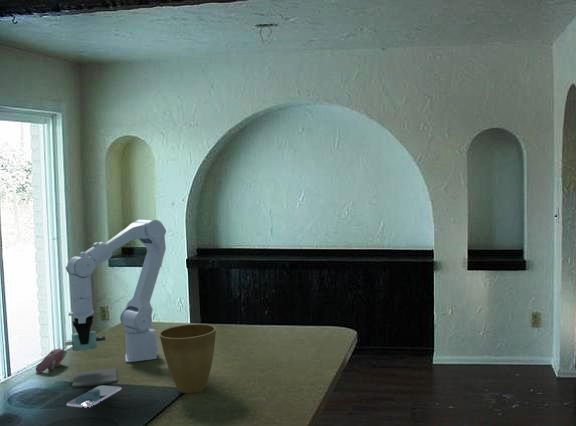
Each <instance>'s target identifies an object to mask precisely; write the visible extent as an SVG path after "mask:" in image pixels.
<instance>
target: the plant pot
mask: <svg viewBox="0 0 576 426" xmlns="http://www.w3.org/2000/svg"><path fill="white" fill-rule="evenodd" d="M216 329H217V328H216V327H215V326H214V325H213V324H212V325H211V324H204V323H203V324H202V323H195V324H194V323H193V324H181V325H176V326H172V327H168V328H166V329H163V330H161V331H160V332H159V338H160V342H161V348H162V351H163V355H164V358H165V362H166V365H167V367H168V370H169V373H170V375H171V378H172V379H173V383H174V385H175V387H176V389H177V390H178V392H179V393H183V394H194V393H199V392H201V391H203V390H205V389H206V388H207V384H208V381H209V377H210V374H211V369H212V366H213V365H212V364H213V359H214V354H215V347H216V345H215V344H216V334H217V333H216V331H217V330H216Z"/></svg>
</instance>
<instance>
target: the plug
mask: <svg viewBox="0 0 576 426" xmlns="http://www.w3.org/2000/svg"><path fill="white" fill-rule="evenodd" d="M102 341H105V342H106V336H99V337H97V331H95V330H90V333H89V342H88V344H84V345H81V344H80V341H79V337H78V333H77V332H74V333H72V334H71V339H67V340H65V342H64V346H67V347H68V346H72V347H71V348H72V351H74V352H78V351H79V352H80V351H88V350H93V349H96V348H98V342H102Z"/></svg>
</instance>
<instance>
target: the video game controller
mask: <svg viewBox="0 0 576 426" xmlns="http://www.w3.org/2000/svg"><path fill="white" fill-rule="evenodd" d="M67 353H68V352H67V350H65V349H63V348H55V349H52V350H50V352H49V353H48V354H47V355H46V356H45V357H44V358H43V360H41V362H39V363H38V364H37V365H36V366H35V371H36V373H37V374H38V373H43V372H44V371H46V370H50V371H52V370H53V369H54V368H55V367H56V368H57V367H59V366H60V365H61V362H62V361H63V360H64V358H66V356H67Z"/></svg>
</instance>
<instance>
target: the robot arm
mask: <svg viewBox="0 0 576 426" xmlns="http://www.w3.org/2000/svg"><path fill="white" fill-rule="evenodd" d="M166 233H167V230H166V227H165V226H164V223H162V222H161V221H160V220H158V219H143V218H139V219H137V220H136V221H134V222H131V223H130V224H129V225H128V226H127V227H125V228H124V229H122V230H121V231H120V232H118V233H117V234H116V235H114V236H112V238H110V239H108V241H106V242H103V241H99V242H98V241H97V242H94V243H92V247H90V248H88V249H87V250H85V251H81V252H79V254H80V255H79V256H77V255H76V256H73V257H71V258H70V259H69V260H68V262H67V264H66V266H65V270H66V272H67V273H68V274H69V276H70V277H69V278H70V280H69V281H70V289H71V290H70V292H71V307H72V309H71V310H72V311H70V312H68V317H70V316H71V317H74V318H73V321H72V325H73V327H74V328H75V331H76V333H78V337H79V341H80V344H81V345H84V344H88V342H89V333H90V331H91V327H92V324H93V323H94V320H93V319H94V316H95V315H93V314H94V313H95V311H94V309H93V308H94V307H93V294H92V279H91V275H92V274H93V272H94V270H95V269H97V267H99V266H101V265H102V264H103V263H105V262H106V261H108V260H109V259H111V258H112V255H113V252H114V251H116V250H118V249H120V247H122V246H124V245H126V244H128V243H129V242H131V241H132V240H139V241H140V242H141V243H142V244H143V246H144V248H145V249H146V254H145V257H144V261H143V264H142V267H141V270H140V274H139V277H138V280H137V283H136V286H135V290H134V293H133V296H132V298H130V300H129V301H128V302H127V303H126V305H125V308H124V309H123V310H122V311H121V314H120V316H119V317H120V318H119V319H120V324H121V325H122V326H123V327H124V334H125V351H126V352H125V353H126V354H125V355H124V359H125V363H132V362H133V363H134V362H142V361H150V360H157V358H158V356H157V355H158V354H157V353H158V345H157V342H156V341H157V340H156V339H157V338H156V337H157V336H156V330H155V328H150V327H151V326H152V324H153V323H152V322H153V317H152V316H153V315H152V314H153V311H154V308H153V307H152V305H151V299H152V297H153V293H154V289H155V286H156V284H157V279H158V276H159V273H160V269H161V267H162V263H163V261H164V260H163V259H164V257H165V253H166V250H167V247H166Z"/></svg>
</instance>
